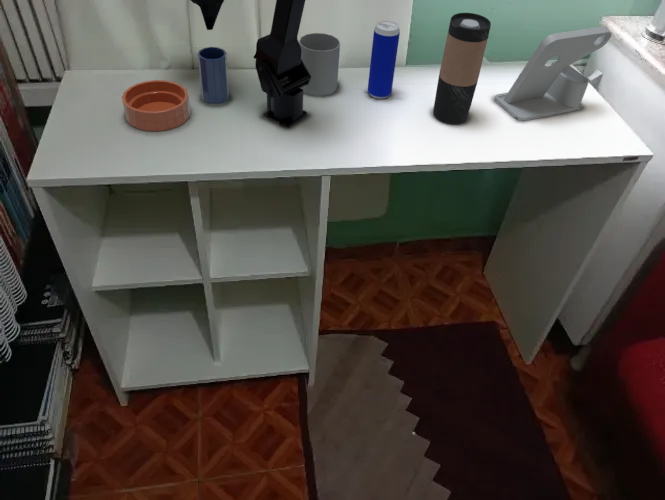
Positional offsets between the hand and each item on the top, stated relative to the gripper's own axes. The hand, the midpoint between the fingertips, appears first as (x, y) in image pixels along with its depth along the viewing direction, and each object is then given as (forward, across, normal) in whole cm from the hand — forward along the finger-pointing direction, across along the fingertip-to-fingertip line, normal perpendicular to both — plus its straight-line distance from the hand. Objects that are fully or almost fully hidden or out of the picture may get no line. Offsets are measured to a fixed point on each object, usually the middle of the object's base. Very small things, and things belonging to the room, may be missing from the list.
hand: (208, 19), depth 123 cm
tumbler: (+13, +8, 0) cm, 16 cm away
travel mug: (+13, +19, +47) cm, 53 cm away
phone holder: (+13, +16, +69) cm, 72 cm away
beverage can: (+13, +9, +35) cm, 38 cm away
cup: (+13, +5, +22) cm, 26 cm away
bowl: (+13, +14, -11) cm, 22 cm away
